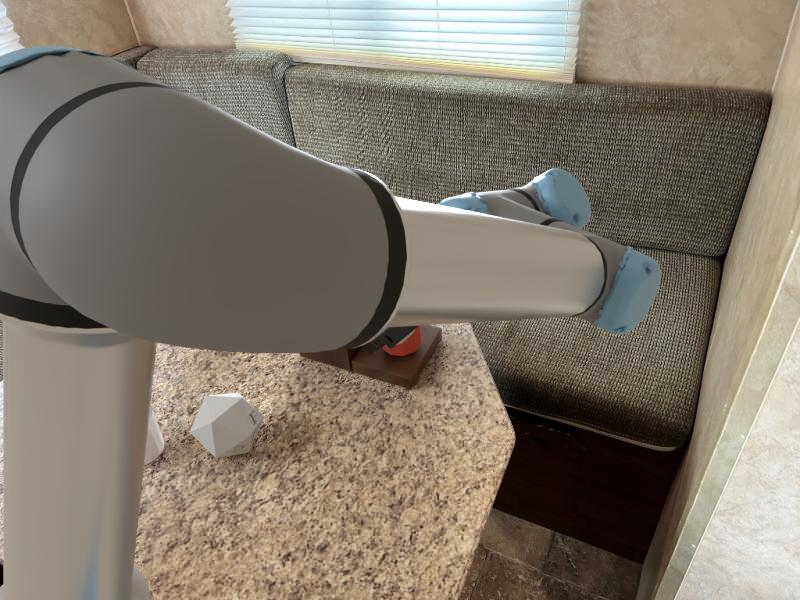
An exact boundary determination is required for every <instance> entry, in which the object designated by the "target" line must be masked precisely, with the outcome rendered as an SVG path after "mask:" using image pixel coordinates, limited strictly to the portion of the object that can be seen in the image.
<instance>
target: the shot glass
mask: <svg viewBox="0 0 800 600" xmlns="http://www.w3.org/2000/svg"><path fill="white" fill-rule="evenodd" d="M164 449H165V440H164V437H163V434H162V431H161V428H160V426H159V422H158V420H157V417H156V414H155V412H154V409H153V407H152V405H151V404H150V414H149V423H148V433H147V442H146V452H145V462H144V466H146V465H149V464H150V463H152V462H154V461H155V460H157V459H158V458H159V457H160V456H161V454H162V453H163V451H164Z"/></svg>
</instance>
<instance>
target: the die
mask: <svg viewBox="0 0 800 600" xmlns="http://www.w3.org/2000/svg"><path fill="white" fill-rule="evenodd" d="M264 418H265V416H264V415H263V414H262V413H261V412H260V411H259V410H258V409H257V408H256V407H255V406H253V405H252V404H251V403H250V402H249V401H248V400H247V399H246V398H245V397H243V395H241V394H240V393H239V392H231V393H219V394H218V393H217V394H206V395H205V396H204V398H203V400H202V403H201V405H200V407H199V410H198V412H197V414H196V416H195V419H194V421H193V423H192V426H191V427H190V428H191V429H190V430H189V434H191V436H193V437H194V438H195V439H196V441H198V442H199V443H200V444H201V445H202V446H203V447H204V448H205V449H206V450H207V451H208V452H209V453H210V454H211V455H212V456H213V457H214V458H215V459H220V458H225V457H232V456H237V455H244V454H247V453H248V454H249V453H250V452H251V449H252V447H253V443H254V442H255V440H256V437H257V435H258V433H259V430H260V428H261V425H262V423H263V420H264Z"/></svg>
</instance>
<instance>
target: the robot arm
mask: <svg viewBox="0 0 800 600" xmlns="http://www.w3.org/2000/svg"><path fill="white" fill-rule="evenodd" d="M591 207H592V206H591V202H590V198H589V196H588V194H587V193H586V191H585V189H584V187H583V186H582V184H581V183H580V181H579V180H578V179H577V178H576V177H575V176H574V175H573V174H572V173H570V172H569V171H566V170H565V169H562V168H558V167H557V168H556V167H555V168H554V167H553V168H551V169H548V170H546V171H545V172H543V173H541V174H540V175H538V176H534V177H533V179H532V180H531V181H530V182H528V183H527V184H525V185H523V186H520V187H519V186H518V187H510V188H506V189H500V190H490V191H479V192H473V191H470V192H465V193H463V194H460V195H455V196H450V197H447V198H445V199H443V200H441V201H440V202H439V203H437V204H434V203H430V202H423V201H419V200H413V199H408V198H403V197H399V196H395V194H394V193H393V191H392V190H391V189H390V188H389V187H388V186H387V185H386V183H384V182H383V181H382V180H380V178H379V177H377V176H375V175H373V174H371V173H369V172H367V171H363V170H361V169H358V168H354V167H353V168H352V167H349V166H344V165H340V164H335V163H333V162H329V161H326V160H324V159H321V158H320V157H317V156H315V155H312V154H310V153H308V152H305V151H303V150H300V149H299V148H296V147H295V146H292V145H290V144H288V143H286V142H284V141H282V140H281V139H280V140H279V139H278V138H276V137H274V136H272V135H271V134H268V133H266V132H264V131H262V130H260V129H258V128H256V127H255V126H253V125H251V124H249V123H247V122H245V121H243V120H241V119H239V118H238V117H235V116H234V115H232V114H230V113H228V112H227V111H225V110H223V109H221V108H220V107H218V106H216V105H214V104H212V103H211V102H208V101H205V100H203V99H201V98H200V97H197V96H194V95H192V94H189V93H187V92H184V91H182V90H180V89H177V88H174V87H172V86H169V85H167V84H166V83H163V82H161V81H159V80H157V79H155V78H153V77H151V76H149V75H147V74H146V73H145V74H144V73H142V72H141V71H139V70H138V69H136V68H135V67H134V66H132V65H130V64H129V63H127V62H125V61H124V60H122V59H119V58H117V57H111V56H108V55H104V54H101V53H100V54H99V53H98V52H95V51H93V50H91V49H79V48H75V47H68V46H61V45H59V46H58V45H39V46H29V47H24V48H23V47H22V48H20V49H19V48H18V49H16V50H13V51H10V52H7V53H5V54H3V55H0V321H1V322H2V334H3V335H2V373H3V374H2V380H3V381H2V391H3V392H2V425H3V427H2V434H3V435H2V436H3V437H2V438H3V439H2V440H3V441H2V443H3V447H2V449H3V450H2V452H3V453H2V454H3V455H2V461H3V462H2V463H3V465H2V466H3V467H2V469H3V472H2V473H3V474H2V476H3V480H2V482H3V483H2V484H3V485H2V486H3V487H2V488H3V489H2V490H3V491H2V493H3V497H2V499H3V501H2V502H3V510H2V511H3V515H2V516H3V525H2V526H3V527H2V528H3V533H2V534H3V535H2V536H3V584H1V586H0V600H151V593H150V588H149V583H148V582H147V580H146V578H145V576H144V574H143V573H142V572H141V571H140V570H139V569H138V568H137V567H136V566H135V557H136V547H137V537H138V527H139V518H140V509H141V500H142V499H141V498H142V489H143V480H144V472H145V465H144V462H145V452H146V442H147V433H148V423H149V414H150V405H151V401H152V394H153V385H154V374H155V364H156V356H157V355H156V354H157V348H158V347H157V345H158V344H161V345H162V344H163V345H168V346H174V347H180V348H185V349H186V348H187V349H195V350H205V351H214V352H224V353H225V352H229V353H246V354H247V353H248V354H300V353H306V352H321V351H329V350H341V349H350V348H356V347H359V346H362V347H363V348H364V349H365V350H366V351H367V352H368V353H369V354H371V353H373V352H375V351H376V350H378V349H380V348H381V347H383V346H385V345H386V346H387V347H388V348H389V349H392V348H394V347H395V345H397V344H398V343H399V342H400V341H401V340H403V339H404V338H405V337H406V336H407V335H409V334H410V333H411V332H412V331H413V330H415V329H416V328H417V327H418V326H419V325H433V326H436V325H450V324H467V323H468V324H469V323H485V322H487V323H488V322H502V321H503V322H504V321H519V320H537V319H539V320H540V319H553V318H578V319H581V320H583V321H586V322H588V323H590V324H591V325H592V327H595V328H599V329H602V330H605V331H606V332H609V333H612V334H614V335H618V336H619V335H625V334H628V333H630V332H631V331H633V330H634V329H635V328H636V327H638V325H640V323H641V322H642V321H643V320H644V318H645V317H646V316H647V314H648V312H649V310H650V309H651V307H652V305H653V303H654V301H655V299H656V296H657V294H658V292H659V289H660V284H661V280H662V270H661V267H660V264H659V262H658V261H657V260H656V259H655V258H653V257H651V256H649V255H646V254H644V253H642V252H640V251H639V250H636V249H634V248H633V247H632V246H630V245H623V244H621V243H618V242H615V241H614V240H611V239H608V238H606V237H603V236H601V235H599V234H596V233H593V232H591V231H588V230H586V229H583V228H584V227H585V226H586V225H587V224H588V223H589V222H590V218H591V214H592V208H591Z"/></svg>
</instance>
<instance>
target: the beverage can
mask: <svg viewBox="0 0 800 600" xmlns="http://www.w3.org/2000/svg"><path fill="white" fill-rule="evenodd" d="M420 344H421V334H420V325H419V326H418V327H417V328H416V329H415V330H413V331H412V332H411V333H410V334H409V335H407V336H406V337H405V338H404V339H403V340H401V341H400V342H399V343H398V344H397V345H395V347H394V348H392V349H389V348H388V347H387V346H386V345H385V346H383V347H382V349H383V350H385V351H386V352H387V353H389V354H390V355H398V356H405V355H407V354H410V353H413V352H415V351H416V350H417V348H418V347H419V346H420Z"/></svg>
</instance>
